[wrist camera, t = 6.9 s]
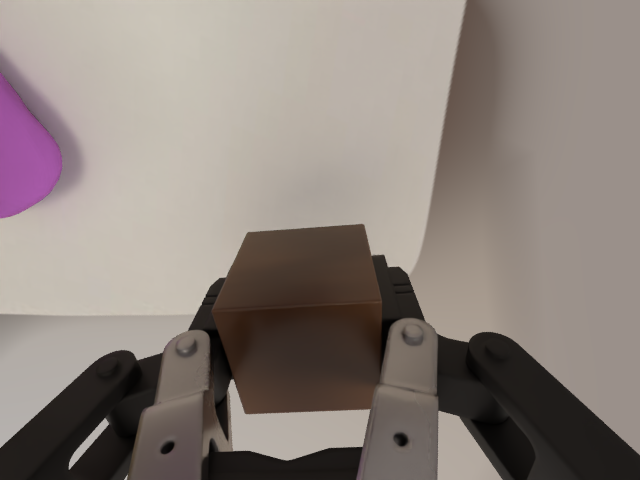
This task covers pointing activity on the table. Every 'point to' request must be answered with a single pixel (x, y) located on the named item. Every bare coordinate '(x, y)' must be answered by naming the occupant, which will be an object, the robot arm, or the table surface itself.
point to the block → (302, 320)
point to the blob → (24, 155)
